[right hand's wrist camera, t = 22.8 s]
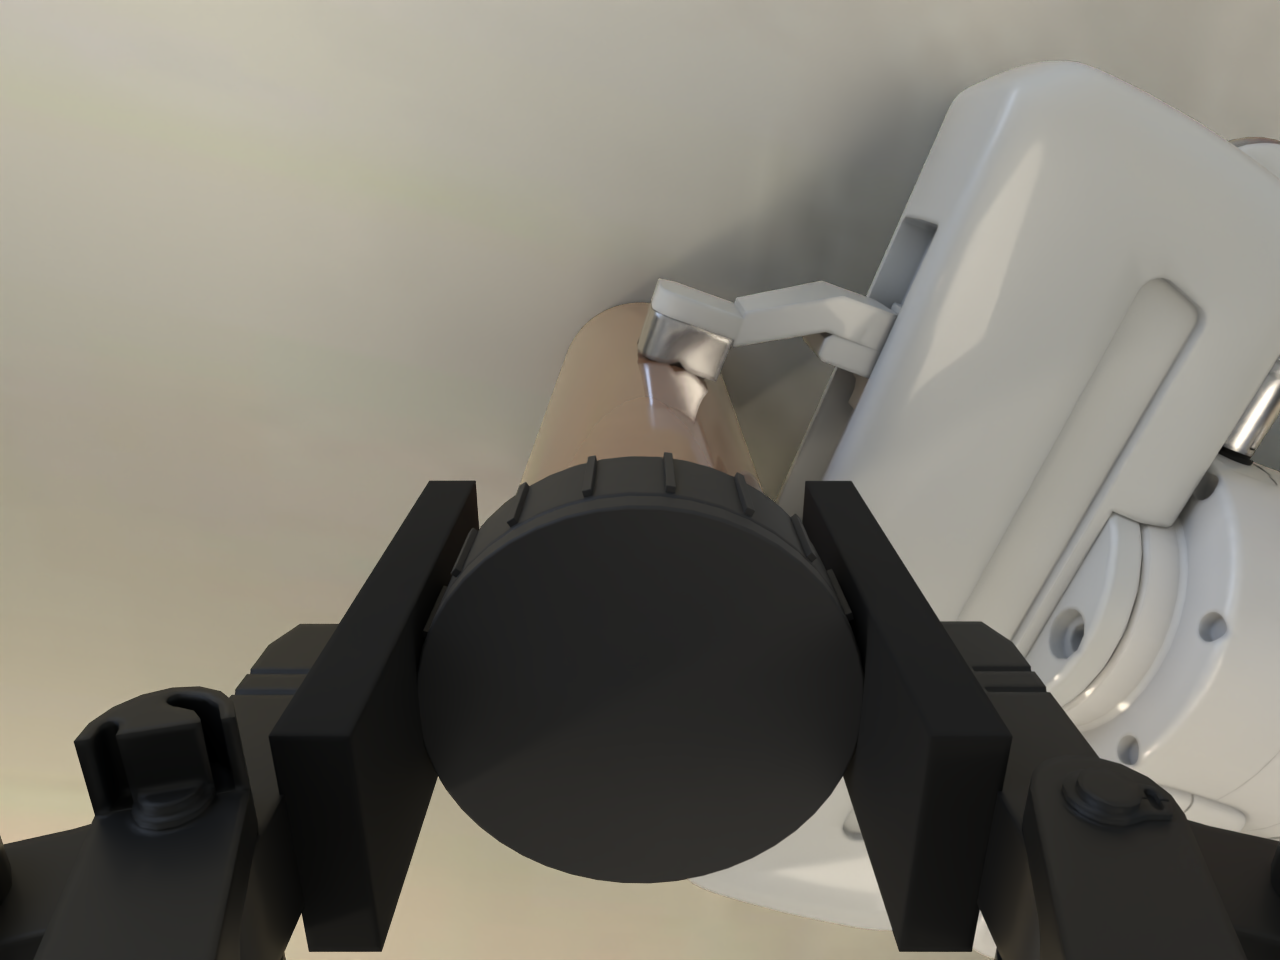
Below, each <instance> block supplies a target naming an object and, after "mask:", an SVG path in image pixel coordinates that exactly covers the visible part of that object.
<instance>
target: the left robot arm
mask: <svg viewBox="0 0 1280 960" xmlns="http://www.w3.org/2000/svg"><path fill="white" fill-rule="evenodd" d="M799 336H802V338H803V340H804V341H805V343H806V344H807V345H808V346H809V347H810V348H811V349H812V351H813V352H814V353H815V354H816V355H817V356H818V358H819V359H820V360H821V361H822V362H825V363H828V364H831V365H833V366H835V368H834V370H833V372H832V374H831V377H830V379H829V381H828V383H827V386H826V388H825V390H824V393H823V395H822V397H821V399H820V402H819V404H818V406H817V408H816V411H815V413H814V415H813V417H812V420H811V422H810V424H809V426H808V429H807V431H806V433H805V436H804V438H803V440H802V442H801V445H800V447H799V449H798V451H797V454H796V456H795V458H794V460H793V463H792V465H791V467H790V470H789V472H788V474H787V476H786V479H785V481H784V483H783V485H782V488H781V490H780V492H779V494H778V497H777V499H776V501H775V503H776V504H777V505H779V506H780V507H781V508H782V509H783V510H784V511H785V512H786V513H787V514H788V515H789V516H790V517H791V516H793V515H794V514H797V515H798V516H799V518H800V519H801V521H802V519H803V505H804V492H805V481H852V482H853V484H854V486H855V487H856V489H857V490H858V492H859V494H860V495H861V497H862V498H863V500H864V501H865V503H866V505H867V506H868V508H869V509H870V511H871V513H872V514H873V516H874V517H875V519H876V520H877V522H878V524H879V525H880V527H881V528H882V530H883V532H884V533H885V535H886V536H887V538H888V539H889V541H890V543H891V544H892V546H893V547H894V549H895V551H896V552H897V554H898V555H899V557H900V558H901V560H902V562H903V563H904V565H905V566H906V568H907V570H908V571H909V573H910V574H911V576H912V577H913V579H914V581H915V582H916V584H917V585H918V587H919V589H920V590H921V592H922V593H923V595H924V596H925V598H926V600H927V601H928V603H929V604H930V606H931V608H932V609H933V611H934V612H935V614H936V615H937V617H938V619H939V620H940V621H982V622H983V623H985V624H986V625H988V626H989V627H991V628H992V629H994V630H995V631H997V632H998V633H1000V634H1001V635H1003V636H1004V637H1006V638H1007V639H1009V640H1010V641H1012V642H1013V643H1014V645H1015V646H1016V647H1017V649H1018V650H1019V651H1020V653H1021V654H1022V655H1023V657H1024V658H1025V659H1026V661H1027V662H1028V663H1029V665H1030V666H1031V671H1035V673H1036V674H1037V675H1038V677H1039V678H1040V679H1041V681H1042V682H1043V683H1044V685H1045V686H1046V691H1047V692H1050V693H1051V694H1052V695H1053V697H1054V698H1055V699H1056V701H1057V702H1058V703H1059V705H1060V706H1061V707H1062V709H1063V710H1064V711H1065V713H1066V714H1067V715H1068V716H1069V718H1070V719H1071V720H1072V722H1073V723H1074V724H1075V726H1076V727H1077V728H1078V730H1079V731H1080V732H1081V734H1082V735H1083V736H1084V738H1085V739H1086V740H1087V742H1088V743H1089V744H1090V746H1091V747H1092V748H1093V750H1094V751H1095V752H1096V754H1097V755H1098V756H1099V758H1101V759H1105V760H1109V761H1112V762H1116V763H1120V764H1122V765H1124V766H1127V767H1129V768H1131V769H1133V770H1135V771H1137V772H1139V773H1141V774H1143V775H1145V776H1147V777H1149V778H1150V779H1152V780H1153V781H1154V782H1155V783H1157V784H1158V785H1159V786H1161V787H1162V788H1163V789H1164V790H1166V791H1167V792H1168V793H1170V794H1171V795H1172V797H1173V798H1174V799H1175V801H1176V802H1177V804H1178V805H1179V806H1180V808H1181V809H1182V811H1183V812H1184V814H1185V815H1186V818H1187V820H1190V821H1194V822H1197V823H1201V824H1204V825H1208V826H1212V827H1217V828H1221V829H1226V830H1230V831H1235V832H1239V833H1244V834H1249V835H1253V836H1258V837H1262V838H1267V839H1271V840H1276V841H1279V840H1280V472H1279V471H1277V470H1274V469H1271V468H1268V467H1266V466H1263V465H1260V464H1257V463H1255V462H1253V461H1252V460H1250V458H1251V457H1252V456H1253V454H1254V452H1255V450H1256V449H1257V448H1258V446H1259V445H1260V443H1261V442H1262V440H1263V439H1264V437H1265V435H1266V434H1267V432H1268V431H1269V429H1270V428H1271V426H1272V424H1273V423H1274V421H1275V420H1276V418H1277V417H1278V415H1279V414H1280V141H1278V140H1275V139H1270V138H1264V137H1245V138H1239V139H1233V140H1230V141H1227V140H1226V139H1224V138H1223V137H1221V136H1220V135H1218V134H1217V133H1215V132H1213V131H1212V130H1210V129H1209V128H1207V127H1206V126H1204V125H1202V124H1201V123H1199V122H1198V121H1196V120H1195V119H1193V118H1191V117H1189V116H1188V115H1186V114H1184V113H1183V112H1181V111H1179V110H1177V109H1176V108H1174V107H1172V106H1170V105H1169V104H1167V103H1165V102H1163V101H1161V100H1160V99H1158V98H1156V97H1154V96H1153V95H1151V94H1149V93H1147V92H1145V91H1143V90H1141V89H1139V88H1137V87H1135V86H1133V85H1131V84H1129V83H1127V82H1125V81H1123V80H1121V79H1119V78H1117V77H1115V76H1113V75H1111V74H1109V73H1106V72H1104V71H1102V70H1100V69H1098V68H1095V67H1092V66H1089V65H1087V64H1084V63H1080V62H1075V61H1063V60H1056V61H1041V62H1034V63H1029V64H1026V65H1022V66H1018V67H1015V68H1012V69H1010V70H1007V71H1004V72H1002V73H999V74H997V75H995V76H992V77H990V78H987V79H985V80H983V81H981V82H979V83H977V84H975V85H972V86H970V87H968V88H966V89H965V90H963V91H962V92H961V93H959V95H958V96H957V97H956V98H955V99H954V100H953V102H952V104H951V105H950V108H949V110H948V112H947V114H946V116H945V118H944V121H943V123H942V125H941V127H940V130H939V132H938V134H937V137H936V139H935V141H934V143H933V146H932V148H931V150H930V152H929V155H928V157H927V159H926V161H925V164H924V166H923V168H922V171H921V173H920V175H919V177H918V180H917V182H916V184H915V186H914V189H913V191H912V193H911V195H910V198H909V200H908V202H907V204H906V207H905V209H904V211H903V214H902V216H901V218H900V220H899V223H898V225H897V227H896V229H895V232H894V234H893V236H892V238H891V241H890V243H889V245H888V248H887V250H886V252H885V254H884V257H883V259H882V261H881V263H880V266H879V268H878V270H877V272H876V275H875V277H874V279H873V282H872V284H871V286H870V288H869V291H868V293H867V295H866V296H864V295H861V294H858V293H855V292H853V291H850V290H847V289H844V288H841V287H839V286H836V285H833V284H830V283H827V282H825V281H817V282H812V283H806V284H801V285H796V286H791V287H786V288H781V289H776V290H771V291H766V292H761V293H756V294H751V295H746V296H741V297H736V300H735V302H734V303H733V302H731V301H728V300H725V299H722V298H719V297H717V296H714V295H711V294H708V293H705V292H703V291H700V290H697V289H694V288H691V287H689V286H686V285H683V284H680V283H677V282H674V281H670V280H665V279H658V282H657V285H656V288H655V291H654V294H653V297H652V300H651V302H650V305H649V308H648V311H647V314H646V317H645V320H644V323H643V326H642V329H641V332H640V335H639V338H638V342H637V344H638V346H637V351H638V352H639V353H640V354H641V355H643V356H645V357H647V358H649V359H651V360H654V361H656V362H659V363H664V364H668V365H669V364H672V363H676V362H680V363H681V365H682V366H683V367H684V369H685V370H686V371H688V372H690V373H692V374H694V375H697V376H700V377H703V378H706V379H708V380H711V381H714V382H716V381H717V379H718V376H719V374H720V372H721V369H722V367H723V364H724V362H725V360H726V357H727V355H728V352H729V350H730V348H731V345H732V347H733V348H734V347H740V346H746V345H752V344H758V343H764V342H770V341H776V340H782V339H788V338H793V337H799ZM687 880H689V881H690V882H692V883H693V884H695V885H697V886H698V887H700V888H702V889H705V890H708V891H710V892H713V893H715V894H718V895H721V896H725V897H728V898H732V899H735V900H738V901H742V902H745V903H749V904H752V905H756V906H760V907H764V908H767V909H771V910H775V911H779V912H783V913H787V914H792V915H796V916H800V917H805V918H809V919H814V920H818V921H823V922H828V923H833V924H838V925H843V926H848V927H854V928H860V929H868V930H878V931H892V927H891V924H890V921H889V918H888V915H887V912H886V909H885V906H884V902H883V899H882V896H881V893H880V890H879V887H878V884H877V881H876V878H875V874H874V871H873V868H872V865H871V862H870V859H869V856H868V853H867V850H866V846H865V843H864V840H863V837H862V834H861V831H860V828H859V825H858V822H857V818H856V815H855V812H854V809H853V806H852V803H851V800H850V797H849V793H848V790H847V787H846V784H845V781H844V778H843V777H842V778H841V780H840V782H839V783H838V785H837V786H836V788H835V789H834V791H833V792H832V794H831V795H830V797H829V798H828V799H827V800H826V801H825V802H824V804H823V805H822V806H821V807H820V808H819V809H818V811H817V812H816V813H815V814H814V815H813V816H812V817H811V818H810V819H809V820H807V821H806V822H805V823H804V824H803V825H802V826H801V827H800V828H799V829H798V830H797V831H795V832H794V833H792V834H791V835H790V836H788V837H787V838H785V839H784V840H783V841H781V842H780V843H778V844H777V845H776V846H774V847H772V848H770V849H768V850H767V851H765V852H763V853H761V854H759V855H758V856H756V857H754V858H752V859H750V860H747V861H745V862H742V863H740V864H738V865H735V866H733V867H731V868H728V869H725V870H721V871H718V872H715V873H711V874H708V875H705V876H700V877H695V878H690V879H687ZM996 948H997V947H996V945H995V942H994V940H993V938H992V936H991V933H990V931H989V929H988V927H987V924H986V922H985V920H984V918H983V915H982V913H981V911H979V917H978V922H977V927H976V933H975V938H974V943H973V948H972V949H973V950H975V951H976V952H978V953H979V954H981V955H984V956H986V957H989V958H991V959H994V958H995V953H996Z"/></svg>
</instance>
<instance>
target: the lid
mask: <svg viewBox="0 0 1280 960" xmlns="http://www.w3.org/2000/svg"><path fill="white" fill-rule="evenodd" d="M451 575H453V576H452V578H451V580H450V582H449V585H448V587H447V586H443V587H442V589H441V591H440V594H439V596H438V598H437V600H436V603H435V605H434V607H433V609H432V611H431V614H430V616H429V618H428V620H427V623H426V625H425V627H424V629H423V638H425V641H424V644H423V646H422V651H421V655H420V660H419V664H418V669H417V688H418V699H419V708H420V717H421V726H422V734H423V742H424V747H425V749H426V751H427V754H428V756H429V759H430V761H431V763H432V766H433V768H434V770H435V772H436V773H437V775H438V777H439V778H440V780H441V782H442V783H443V785H444V787H445V788H446V790H447V791H448V792H449V794H450V795H451V796H452V798H453V799H454V800H455V801H456V803H457V804H458V805H459V806H460V808H461V809H462V810H463V811H464V812H465V813H466V814H467V815H468V816H469V817H470V818H471V819H472V820H473V821H474V822H475V823H477V824H478V825H479V826H480V827H481V828H482V829H484V830H485V831H486V832H487V833H489V834H490V835H491V836H493V837H494V838H495V839H497V840H498V841H499V842H501V843H502V844H504V845H506V846H508V847H509V848H511V849H513V850H514V851H516V852H518V853H519V854H521V855H523V856H525V857H527V858H530V859H532V860H534V861H536V862H538V863H541V864H543V865H545V866H548V867H551V868H554V869H557V870H560V871H563V872H566V873H569V874H572V875H577V876H582V877H586V878H591V879H595V880H603V881H611V882H620V883H659V882H670V881H679V880H684V879H690V878H695V877H700V876H705V875H708V874H711V873H715V872H718V871H721V870H725V869H728V868H731V867H733V866H735V865H738V864H740V863H742V862H745V861H747V860H750V859H752V858H754V857H756V856H758V855H759V854H761V853H763V852H765V851H767V850H768V849H770V848H772V847H774V846H776V845H777V844H778V843H780V842H781V841H783V840H784V839H785V838H787V837H788V836H790V835H791V834H792V833H794V832H795V831H797V830H798V829H799V828H800V827H801V826H802V825H803V824H804V823H805V822H806V821H807V820H809V819H810V818H811V817H812V816H813V815H814V814H815V813H816V812H817V811H818V809H819V808H820V807H821V806H822V805H823V804H824V802H825V801H826V800H827V799H828V798H829V797H830V795H831V794H832V792H833V791H834V789H835V788H836V786H837V785H838V783H839V782H840V780H841V778H842V777H843V775H844V774H845V772H846V769H847V767H848V765H849V763H850V761H851V759H852V756H853V754H854V752H855V749H856V745H857V741H858V734H859V725H860V716H861V707H862V698H863V688H864V671H863V665H862V660H861V654H860V651H859V648H858V645H857V642H856V639H855V636H854V634H853V631H852V628H851V626H850V623H849V621H851V620H853V619H854V617H853V614H852V611H851V609H850V607H849V605H848V603H847V601H846V598H845V596H844V594H843V592H842V590H841V587H840V585H839V583H838V581H837V579H836V576H835V574H834V572H833V570H832V569H830V570H827V571H826V569H825V566H824V564H823V563H822V561H821V559H820V557H819V555H818V553H817V551H816V549H815V548H814V546H813V544H812V543H811V541H810V540H809V538H808V535H807V533H806V531H805V528H804V526H803V524H802V521H801V519H800V518H799V516H798V515H797V514H794V515H793V516H791V517H790V516H789V515H788V514H787V513H786V512H785V511H784V510H783V509H782V508H781V507H780V506H779V505H777V504H776V503H775V502H774V501H772V500H771V499H770V498H768V497H767V496H766V495H764V494H763V493H762V492H760V491H759V490H757V489H755V488H754V487H752V486H750V485H748V484H747V483H746V481H745V478H744V475H742V474H740V473H738V472H737V473H736V474H735V476H734V477H733V476H731V475H729V474H726V473H724V472H721V471H719V470H716V469H714V468H711V467H708V466H704V465H700V464H696V463H693V462H689V461H685V460H678V459H673V456H672V453H668V452H664V456H663V457H647V456H628V457H618V458H609V459H601V460H597V458H596V455H594V456H589V457H588V459H587V463H584V464H580V465H576V466H573V467H570V468H568V469H565V470H562V471H560V472H557V473H554V474H552V475H549V476H547V477H545V478H544V479H542V480H540V481H538V482H536V483H534V484H532V485H530V486H529V485H528V484H527V482H524V483H523V484H521V485H520V486H519V488H518V491H517V494H516V495H515V496H514V497H513V498H511V499H510V500H508V501H507V502H506V503H504V504H503V505H502V506H501V507H500V508H499V509H498V510H497V511H496V512H495V513H494V514H493V515H492V516H491V517H490V518H488V519H487V520H486V522H485V523H484V524H483V525H482V527H481V528H480V529H479V530H478V531H477V530H476V529H474V528H472V529H471V531H470V532H469V533H468V536H467V538H466V540H465V542H464V545H463V547H462V549H461V551H460V554H459V556H458V558H457V560H456V563H455V565H454V567H453V569H452V572H451Z"/></svg>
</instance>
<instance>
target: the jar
mask: <svg viewBox="0 0 1280 960" xmlns="http://www.w3.org/2000/svg"><path fill="white" fill-rule="evenodd" d="M649 305H650V303H642V302H636V303H627V304H622V305H618V306H615V307H612V308H610V309H607V310H605V311H603V312H602V313H600V314H598V315H597V316H595V317H594V318H592V319H591V320H590V321H589V322H588V323H586V324H585V325H584V326H583V327H582V328H581V330H580V331H579V332H578V333H577V335H576V336H575V338H574V339H573V341H572V343H571V344H570V347H569V349H568V351H567V354H566V356H565V359H564V362H563V365H562V367H561V370H560V373H559V376H558V379H557V381H556V384H555V387H554V390H553V393H552V395H551V398H550V401H549V404H548V407H547V409H546V412H545V415H544V418H543V421H542V423H541V426H540V429H539V432H538V434H537V437H536V440H535V443H534V446H533V448H532V451H531V454H530V457H529V460H528V462H527V465H526V468H525V471H524V474H523V476H522V479H521V482H520V485H521V484H523V483H524V482H527V484H528V485H529V486H530V485H532V484H534V483H536V482H538V481H540V480H542V479H544V478H545V477H547V476H549V475H552V474H554V473H557V472H560V471H562V470H565V469H568V468H570V467H573V466H576V465H580V464H584V463H587V459H588V457H589V456H594V455H596V458H597V460H601V459H609V458H618V457H628V456H647V457H663V456H664V452H668V453H672V456H673V459H678V460H685V461H689V462H693V463H696V464H700V465H704V466H708V467H711V468H714V469H716V470H719V471H721V472H724V473H726V474H729V475H731V476H733V477H734V476H735V474H736V473H737V472H738V473H740V474H742V475H744V478H745V481H746V483H747V484H748V485H750V486H752V487H754V488H755V489H757V490H759V491H760V492H762V493H763V494H764V492H763V489H762V486H761V484H760V481H759V478H758V475H757V472H756V470H755V467H754V464H753V461H752V458H751V456H750V453H749V450H748V447H747V444H746V442H745V439H744V436H743V433H742V431H741V428H740V425H739V422H738V419H737V417H736V414H735V411H734V408H733V405H732V403H731V400H730V397H729V394H728V391H727V389H726V386H725V383H724V380H723V377H722V375H721V372H720V374H719V376H718V379H717V381H716V382H714V381H711V380H708V379H706V378H703V377H700V376H697V375H694V374H692V373H690V372H688V371H686V370H685V369H684V367H683V366H682V365H681V363H680V362H676V363H672V364H669V365H668V364H664V363H659V362H656V361H654V360H651V359H649V358H647V357H645V356H643V355H641V354H640V353H639V352H638V351H637V346H638V344H637V342H638V338H639V335H640V332H641V329H642V326H643V323H644V320H645V317H646V314H647V311H648V308H649ZM520 485H519V486H520ZM517 491H518V490H517ZM516 494H517V493H516Z"/></svg>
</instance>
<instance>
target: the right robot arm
mask: <svg viewBox="0 0 1280 960" xmlns="http://www.w3.org/2000/svg"><path fill="white" fill-rule="evenodd" d="M802 524H803V526H804V528H805V531H806V533H807V535H808V538H809V540H810V541H811V543H812V544H813V546H814V548H815V549H816V551H817V553H818V555H819V557H820V559H821V561H822V563H823V564H824V566H825V569H826V571H827V570H830V569H832V570H833V572H834V574H835V576H836V579H837V581H838V583H839V585H840V587H841V590H842V592H843V594H844V596H845V598H846V601H847V603H848V605H849V607H850V609H851V611H852V614H853V617H854V619H853V620H851V621H849V623H850V626H851V628H852V631H853V634H854V636H855V639H856V642H857V645H858V648H859V651H860V654H861V660H862V665H863V671H864V688H863V698H862V707H861V716H860V725H859V734H858V741H857V745H856V749H855V752H854V754H853V756H852V759H851V761H850V763H849V765H848V767H847V769H846V772H845V774H844V775H843V778H844V781H845V784H846V787H847V790H848V793H849V797H850V800H851V803H852V806H853V809H854V812H855V815H856V818H857V822H858V825H859V828H860V831H861V834H862V837H863V840H864V843H865V846H866V850H867V853H868V856H869V859H870V862H871V865H872V868H873V871H874V874H875V878H876V881H877V884H878V887H879V890H880V893H881V896H882V899H883V902H884V906H885V909H886V912H887V915H888V918H889V921H890V924H891V927H892V931H893V934H894V937H895V940H896V943H897V946H898V949H899V952H972V948H973V943H974V938H975V933H976V927H977V922H978V917H979V911H981V913H982V915H983V918H984V920H985V922H986V924H987V927H988V929H989V931H990V933H991V936H992V938H993V940H994V942H995V945H996V947H997V948H996V953H995V958H994V960H1280V840H1279V841H1276V840H1271V839H1267V838H1262V837H1258V836H1253V835H1249V834H1244V833H1239V832H1235V831H1230V830H1226V829H1221V828H1217V827H1212V826H1208V825H1204V824H1201V823H1197V822H1194V821H1190V820H1187V818H1186V815H1185V814H1184V812H1183V811H1182V809H1181V808H1180V806H1179V805H1178V804H1177V802H1176V801H1175V799H1174V798H1173V797H1172V795H1171V794H1170V793H1168V792H1167V791H1166V790H1164V789H1163V788H1162V787H1161V786H1159V785H1158V784H1157V783H1155V782H1154V781H1153V780H1152V779H1150V778H1149V777H1147V776H1145V775H1143V774H1141V773H1139V772H1137V771H1135V770H1133V769H1131V768H1129V767H1127V766H1124V765H1122V764H1120V763H1116V762H1112V761H1109V760H1105V759H1101V758H1099V756H1098V755H1097V754H1096V752H1095V751H1094V750H1093V748H1092V747H1091V746H1090V744H1089V743H1088V742H1087V740H1086V739H1085V738H1084V736H1083V735H1082V734H1081V732H1080V731H1079V730H1078V728H1077V727H1076V726H1075V724H1074V723H1073V722H1072V720H1071V719H1070V718H1069V716H1068V715H1067V714H1066V713H1065V711H1064V710H1063V709H1062V707H1061V706H1060V705H1059V703H1058V702H1057V701H1056V699H1055V698H1054V697H1053V695H1052V694H1051V693H1050V692H1047V691H1046V686H1045V685H1044V683H1043V682H1042V681H1041V679H1040V678H1039V677H1038V675H1037V674H1036V673H1035V671H1031V666H1030V665H1029V663H1028V662H1027V661H1026V659H1025V658H1024V657H1023V655H1022V654H1021V653H1020V651H1019V650H1018V649H1017V647H1016V646H1015V645H1014V643H1013V642H1012V641H1010V640H1009V639H1007V638H1006V637H1004V636H1003V635H1001V634H1000V633H998V632H997V631H995V630H994V629H992V628H991V627H989V626H988V625H986V624H985V623H983V622H982V621H940V620H939V619H938V617H937V615H936V614H935V612H934V611H933V609H932V608H931V606H930V604H929V603H928V601H927V600H926V598H925V596H924V595H923V593H922V592H921V590H920V589H919V587H918V585H917V584H916V582H915V581H914V579H913V577H912V576H911V574H910V573H909V571H908V570H907V568H906V566H905V565H904V563H903V562H902V560H901V558H900V557H899V555H898V554H897V552H896V551H895V549H894V547H893V546H892V544H891V543H890V541H889V539H888V538H887V536H886V535H885V533H884V532H883V530H882V528H881V527H880V525H879V524H878V522H877V520H876V519H875V517H874V516H873V514H872V513H871V511H870V509H869V508H868V506H867V505H866V503H865V501H864V500H863V498H862V497H861V495H860V494H859V492H858V490H857V489H856V487H855V486H854V484H853V482H852V481H805V492H804V505H803V519H802ZM472 528H474V529H476V530H477V531H478V530H479V520H478V507H477V493H476V481H429V482H428V484H427V485H426V487H425V489H424V490H423V492H422V493H421V495H420V497H419V498H418V500H417V501H416V503H415V504H414V506H413V508H412V509H411V511H410V512H409V514H408V516H407V517H406V519H405V520H404V522H403V523H402V525H401V527H400V528H399V530H398V531H397V533H396V535H395V536H394V538H393V539H392V541H391V542H390V544H389V546H388V547H387V549H386V550H385V552H384V554H383V555H382V557H381V558H380V560H379V561H378V563H377V565H376V566H375V568H374V569H373V571H372V573H371V574H370V576H369V577H368V579H367V581H366V582H365V584H364V585H363V587H362V588H361V590H360V592H359V593H358V595H357V596H356V598H355V600H354V601H353V603H352V604H351V606H350V607H349V609H348V611H347V612H346V614H345V615H344V617H343V619H342V620H341V622H340V623H339V624H299V625H298V626H296V627H295V628H293V629H292V630H290V631H289V632H287V633H286V634H284V635H283V636H281V637H280V638H278V639H277V640H275V641H274V642H272V643H271V644H270V645H268V647H267V648H266V649H265V651H264V652H263V653H262V655H261V656H260V657H259V659H258V660H257V661H256V663H255V664H254V665H253V667H252V668H251V672H250V674H247V675H246V676H245V678H244V679H243V680H242V682H241V683H240V684H239V686H238V687H237V688H236V690H235V695H231V696H230V698H228V697H227V696H226V695H225V694H223V693H222V692H221V691H217V690H213V689H208V688H204V687H200V686H199V687H176V688H169V689H164V690H160V691H156V692H152V693H148V694H143V695H140V696H138V697H136V698H133V699H131V700H129V701H126V702H124V703H122V704H119V705H117V706H115V707H112V708H111V709H109V710H108V711H107V712H105V713H104V714H102V715H101V716H99V717H98V718H96V719H95V720H93V721H92V722H90V723H89V724H88V725H87V726H86V727H85V729H84V730H83V731H82V732H81V733H80V735H79V736H78V737H77V738H76V739H75V741H74V744H75V748H76V751H77V755H78V758H79V762H80V765H81V768H82V772H83V775H84V779H85V782H86V786H87V789H88V793H89V796H90V800H91V803H92V807H93V810H94V813H95V817H94V819H93V821H92V824H89V825H86V826H82V827H79V828H75V829H72V830H67V831H63V832H58V833H54V834H49V835H44V836H40V837H35V838H31V839H26V840H22V841H17V842H13V843H8V844H4V845H3V842H2V839H1V837H0V960H286V958H285V953H284V951H285V949H286V947H287V944H288V942H289V940H290V938H291V935H292V933H293V931H294V929H295V926H296V924H297V922H298V920H299V917H300V915H301V913H302V917H303V922H304V928H305V933H306V938H307V944H308V949H309V952H382V949H383V946H384V943H385V940H386V936H387V933H388V930H389V927H390V924H391V921H392V918H393V915H394V912H395V908H396V905H397V902H398V899H399V896H400V893H401V890H402V887H403V883H404V880H405V877H406V874H407V871H408V868H409V865H410V862H411V859H412V855H413V852H414V849H415V846H416V843H417V840H418V837H419V834H420V830H421V827H422V824H423V821H424V818H425V815H426V812H427V809H428V806H429V802H430V799H431V796H432V793H433V790H434V787H435V784H436V781H437V778H438V775H437V773H436V772H435V770H434V768H433V766H432V763H431V761H430V759H429V756H428V754H427V751H426V749H425V747H424V742H423V734H422V726H421V717H420V708H419V699H418V688H417V669H418V664H419V660H420V655H421V651H422V646H423V644H424V641H425V638H423V629H424V627H425V625H426V623H427V620H428V618H429V616H430V614H431V611H432V609H433V607H434V605H435V603H436V600H437V598H438V596H439V594H440V591H441V589H442V587H443V586H447V587H448V585H449V582H450V580H451V578H452V576H453V575H451V572H452V569H453V567H454V565H455V563H456V560H457V558H458V556H459V554H460V551H461V549H462V547H463V545H464V542H465V540H466V538H467V536H468V533H469V532H470V531H471V529H472Z"/></svg>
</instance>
